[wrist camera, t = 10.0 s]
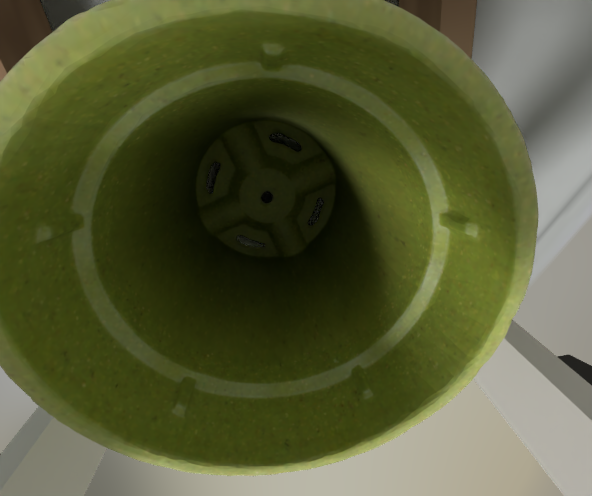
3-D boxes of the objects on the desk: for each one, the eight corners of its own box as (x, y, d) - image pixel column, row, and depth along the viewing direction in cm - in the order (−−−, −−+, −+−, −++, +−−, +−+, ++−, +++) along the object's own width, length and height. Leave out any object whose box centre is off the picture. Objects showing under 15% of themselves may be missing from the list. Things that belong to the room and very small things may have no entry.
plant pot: (174, 21, 10) (-122, -271, 2) (410, 119, 12) (668, 141, 4) (139, 256, 14) (-26, 456, 6) (327, 300, 16) (391, 490, 8)
